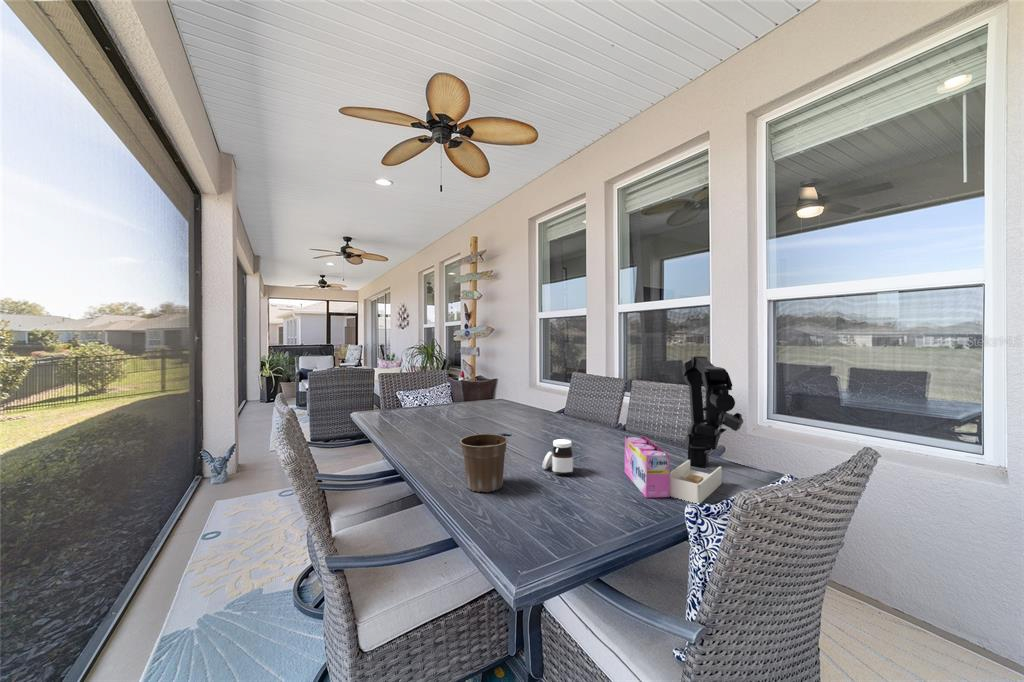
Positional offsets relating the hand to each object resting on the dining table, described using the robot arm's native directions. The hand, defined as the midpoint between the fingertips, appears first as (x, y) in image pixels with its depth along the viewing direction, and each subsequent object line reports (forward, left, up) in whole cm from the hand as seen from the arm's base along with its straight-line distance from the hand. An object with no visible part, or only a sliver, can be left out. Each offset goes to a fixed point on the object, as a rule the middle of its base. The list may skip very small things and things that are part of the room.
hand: (713, 449), depth 140 cm
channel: (-3, -10, -12) cm, 16 cm away
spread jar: (-47, -27, -12) cm, 55 cm away
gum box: (-17, -17, -12) cm, 27 cm away
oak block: (-1, -17, -9) cm, 19 cm away
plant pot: (-57, -55, -12) cm, 80 cm away
